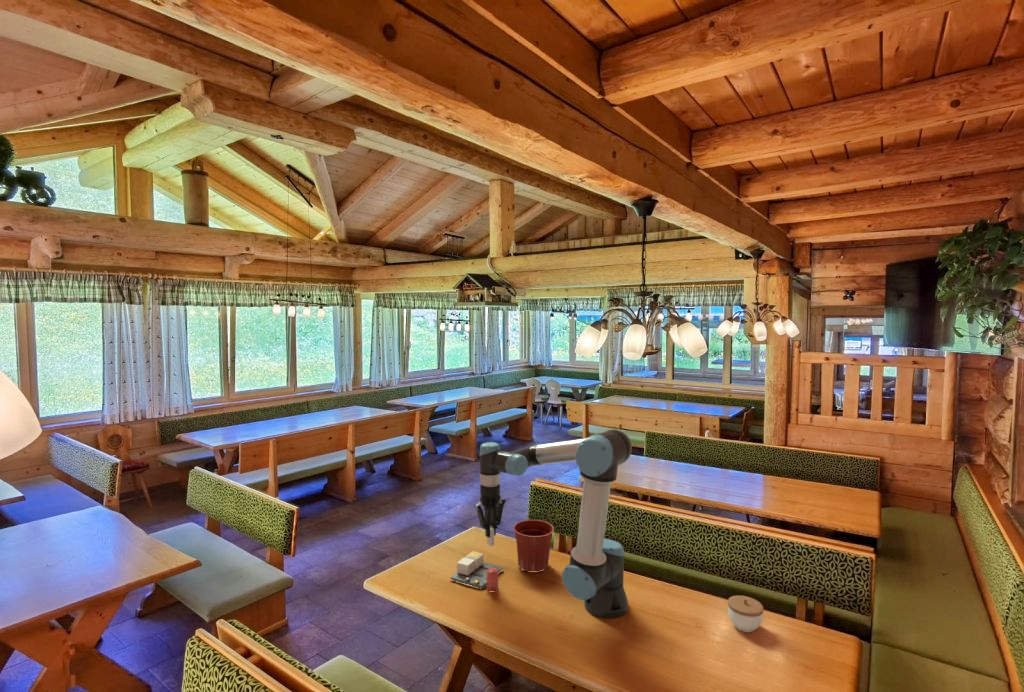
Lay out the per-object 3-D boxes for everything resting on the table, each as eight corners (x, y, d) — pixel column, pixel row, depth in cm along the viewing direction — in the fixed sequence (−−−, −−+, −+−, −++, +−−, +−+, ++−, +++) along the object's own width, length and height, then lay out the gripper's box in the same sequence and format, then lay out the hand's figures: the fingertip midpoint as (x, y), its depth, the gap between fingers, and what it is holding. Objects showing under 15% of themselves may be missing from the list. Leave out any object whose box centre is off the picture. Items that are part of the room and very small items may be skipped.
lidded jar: (742, 639, 164) (743, 610, 163) (720, 620, 174) (720, 593, 174) (770, 633, 167) (771, 605, 166) (747, 615, 177) (747, 588, 177)
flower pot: (560, 563, 214) (561, 525, 213) (541, 580, 200) (541, 539, 199) (526, 553, 222) (526, 516, 221) (505, 569, 208) (505, 530, 207)
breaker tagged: (483, 563, 209) (483, 553, 209) (476, 569, 205) (476, 558, 205) (472, 560, 212) (472, 550, 211) (466, 566, 207) (466, 555, 207)
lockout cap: (500, 587, 195) (500, 569, 194) (494, 593, 191) (494, 574, 190) (490, 584, 197) (490, 566, 196) (484, 590, 193) (484, 572, 192)
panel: (502, 571, 207) (502, 565, 207) (482, 589, 193) (482, 584, 193) (473, 563, 213) (473, 557, 213) (450, 580, 199) (450, 575, 199)
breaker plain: (474, 569, 204) (474, 560, 204) (467, 575, 200) (467, 565, 199) (464, 566, 206) (464, 557, 206) (457, 572, 202) (457, 562, 202)
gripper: (499, 478, 203) (499, 536, 205) (470, 484, 196) (471, 545, 197) (509, 483, 197) (510, 543, 199) (480, 489, 190) (481, 552, 191)
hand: (490, 544), depth 198 cm, fingers closed
